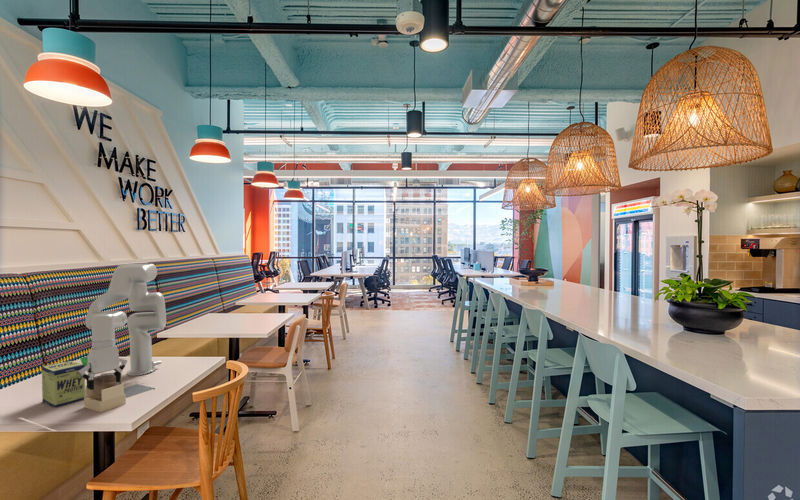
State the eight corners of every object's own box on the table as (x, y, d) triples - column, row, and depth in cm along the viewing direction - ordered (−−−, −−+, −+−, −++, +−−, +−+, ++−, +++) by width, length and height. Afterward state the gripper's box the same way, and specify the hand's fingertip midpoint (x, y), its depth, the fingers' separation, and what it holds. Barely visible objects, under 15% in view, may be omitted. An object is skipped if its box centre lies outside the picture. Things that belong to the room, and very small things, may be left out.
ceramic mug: (122, 388, 182) (121, 372, 182) (99, 393, 177) (99, 376, 177) (121, 383, 191) (121, 367, 191) (100, 387, 186) (100, 370, 186)
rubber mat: (137, 385, 187) (136, 383, 187) (154, 389, 181) (154, 388, 181) (104, 395, 174) (104, 393, 174) (122, 400, 168) (122, 398, 168)
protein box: (55, 409, 160) (54, 371, 160) (41, 401, 168) (40, 365, 168) (86, 400, 169) (85, 364, 169) (71, 393, 177) (71, 359, 177)
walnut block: (107, 401, 165) (106, 373, 165) (116, 404, 162) (115, 375, 162) (93, 406, 161) (93, 377, 161) (103, 409, 157) (102, 379, 157)
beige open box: (109, 400, 168) (108, 379, 168) (125, 404, 163) (125, 383, 163) (84, 408, 160) (83, 386, 160) (100, 413, 154) (100, 390, 154)
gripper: (121, 339, 170) (121, 378, 170) (73, 348, 155) (74, 391, 155) (131, 340, 167) (131, 380, 167) (84, 349, 152) (84, 393, 151)
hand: (104, 385), depth 161 cm, fingers open, 9 cm apart
